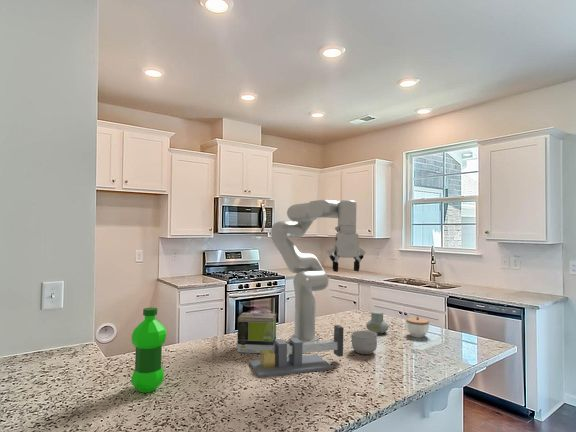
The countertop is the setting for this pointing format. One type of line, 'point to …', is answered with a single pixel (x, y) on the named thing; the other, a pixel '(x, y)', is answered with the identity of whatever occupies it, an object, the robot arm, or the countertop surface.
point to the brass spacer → (267, 359)
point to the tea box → (256, 332)
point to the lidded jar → (417, 326)
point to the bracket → (290, 361)
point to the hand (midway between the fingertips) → (346, 271)
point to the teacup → (364, 341)
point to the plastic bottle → (148, 352)
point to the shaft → (323, 344)
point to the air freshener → (377, 323)
